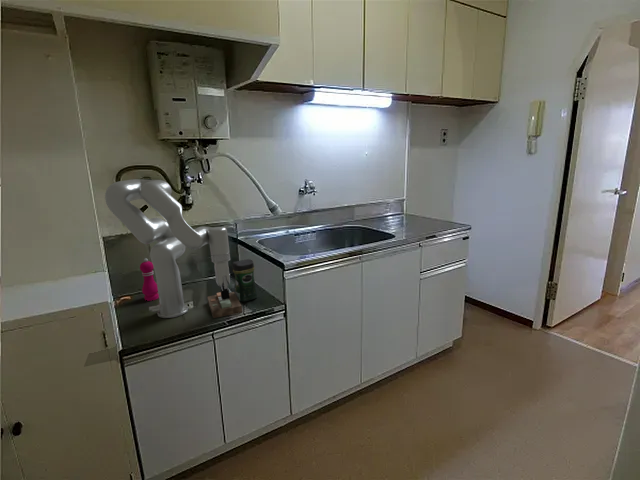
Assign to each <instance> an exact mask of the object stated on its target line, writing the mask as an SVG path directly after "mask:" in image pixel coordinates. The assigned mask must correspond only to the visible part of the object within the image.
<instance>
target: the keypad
mask: <svg viewBox="0 0 640 480" xmlns="http://www.w3.org/2000/svg"><path fill="white" fill-rule="evenodd" d="M229 296H230V298H229V300H230V302H231V307H227V308H222V309H221V305H220V304H219V299H217V294H214V295H209V296H207V303H208V307H209V310H210V312H211V315H212V319H216V318H221V317H226V316H232V315H236V314H241V313H243V306H242V304H241V301H239V300H238V298H237V296H236V294H235V291H231V292H230V291H229Z"/></svg>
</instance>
